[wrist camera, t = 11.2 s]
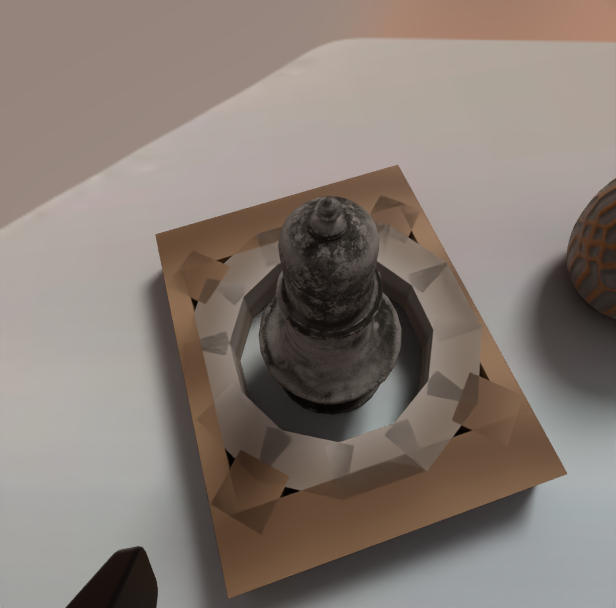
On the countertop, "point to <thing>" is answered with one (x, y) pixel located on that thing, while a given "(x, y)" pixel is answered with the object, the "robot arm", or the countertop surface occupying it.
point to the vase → (596, 252)
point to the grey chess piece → (329, 309)
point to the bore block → (361, 449)
